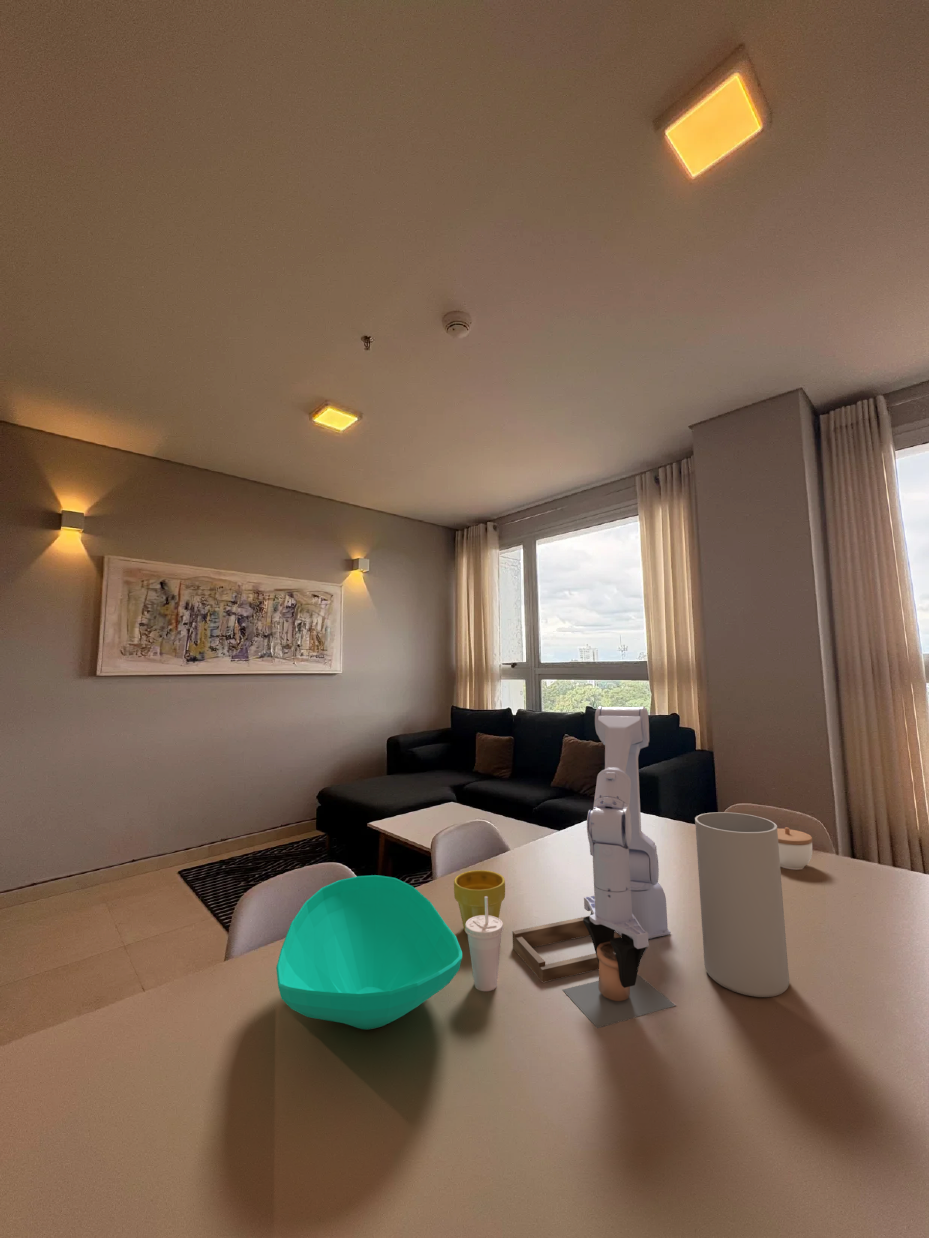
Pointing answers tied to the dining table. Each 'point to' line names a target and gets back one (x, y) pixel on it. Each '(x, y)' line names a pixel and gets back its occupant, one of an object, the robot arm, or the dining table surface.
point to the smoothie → (484, 948)
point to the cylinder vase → (742, 903)
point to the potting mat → (617, 1002)
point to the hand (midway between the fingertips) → (616, 974)
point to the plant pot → (479, 893)
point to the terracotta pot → (610, 974)
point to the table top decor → (365, 953)
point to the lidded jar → (794, 848)
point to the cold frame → (549, 935)
